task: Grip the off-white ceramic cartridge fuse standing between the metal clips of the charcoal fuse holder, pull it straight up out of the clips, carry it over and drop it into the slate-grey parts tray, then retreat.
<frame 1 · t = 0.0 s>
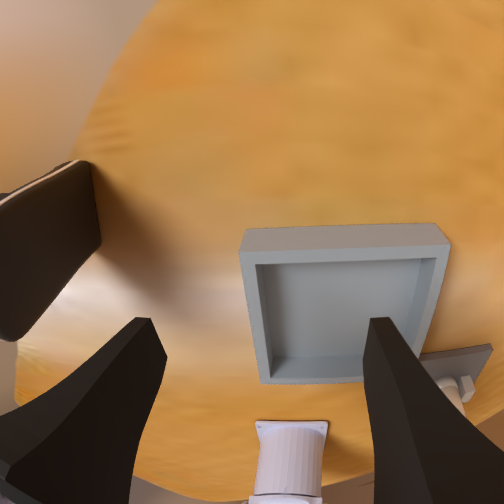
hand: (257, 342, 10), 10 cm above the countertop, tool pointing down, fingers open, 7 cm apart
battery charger: (78, 201, 20), on the countertop
parts tray: (341, 302, 21), on the countertop
fuse holder: (438, 379, 25), on the countertop
fuse: (440, 385, 24), point 1 cm above the countertop, touching fuse holder
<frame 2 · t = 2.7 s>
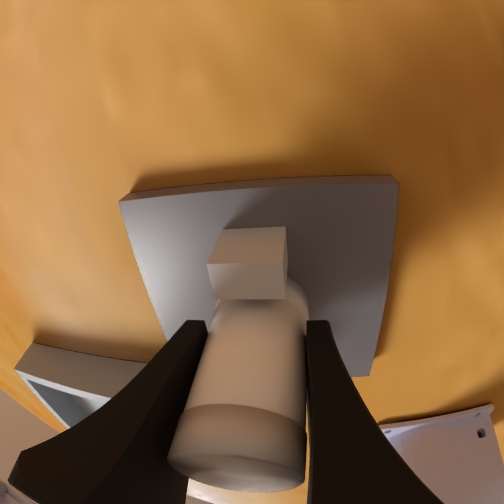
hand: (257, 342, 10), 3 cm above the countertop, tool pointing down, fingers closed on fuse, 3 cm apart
parts tray: (128, 408, 20), on the countertop
fuse holder: (265, 293, 12), on the countertop
fuse: (263, 306, 11), point 1 cm above the countertop, touching fuse holder, gripper
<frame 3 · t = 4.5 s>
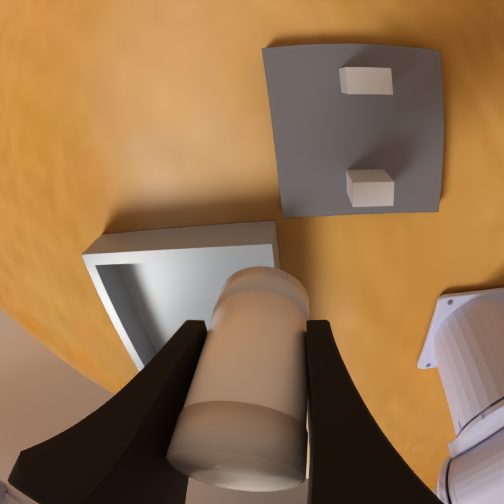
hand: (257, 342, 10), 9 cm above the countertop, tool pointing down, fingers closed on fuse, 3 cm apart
parts tray: (198, 303, 22), on the countertop
fuse holder: (360, 129, 15), on the countertop
fuse: (263, 303, 11), point 8 cm above the countertop, touching gripper
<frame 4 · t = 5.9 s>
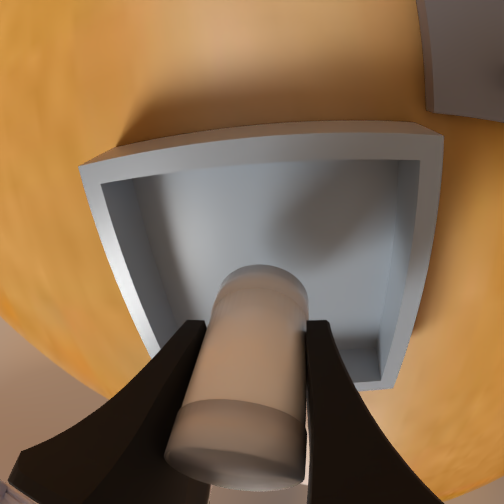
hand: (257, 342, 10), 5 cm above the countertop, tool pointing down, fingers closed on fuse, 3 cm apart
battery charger: (186, 430, 25), on the countertop
parts tray: (270, 263, 14), on the countertop
fuse: (262, 302, 11), point 3 cm above the countertop, touching gripper
when the fingers open (4 cm above the countertop, at t = 6.8 s): fuse drops 2 cm, resting on parts tray.
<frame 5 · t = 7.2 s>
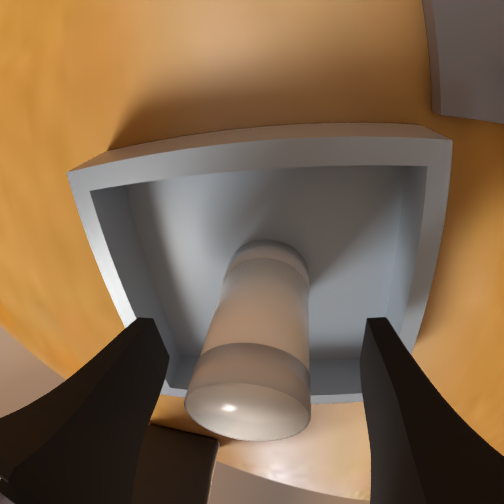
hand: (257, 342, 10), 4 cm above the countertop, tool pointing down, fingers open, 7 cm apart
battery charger: (184, 436, 24), on the countertop
parts tray: (268, 272, 13), on the countertop
fuse: (267, 275, 13), point 1 cm above the countertop, touching parts tray
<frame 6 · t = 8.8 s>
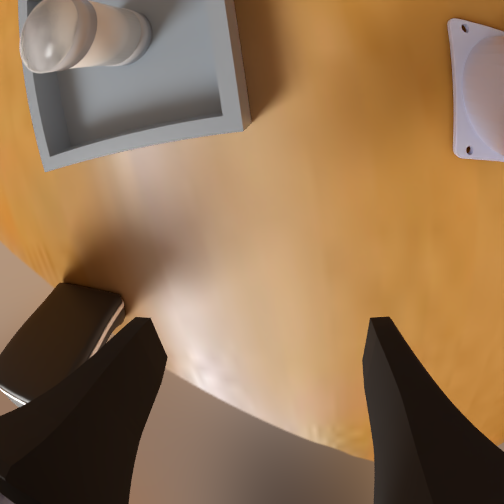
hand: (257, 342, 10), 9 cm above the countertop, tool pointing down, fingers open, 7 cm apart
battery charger: (95, 301, 24), on the countertop
parts tray: (129, 41, 13), on the countertop
fuse: (125, 38, 13), point 1 cm above the countertop, touching parts tray
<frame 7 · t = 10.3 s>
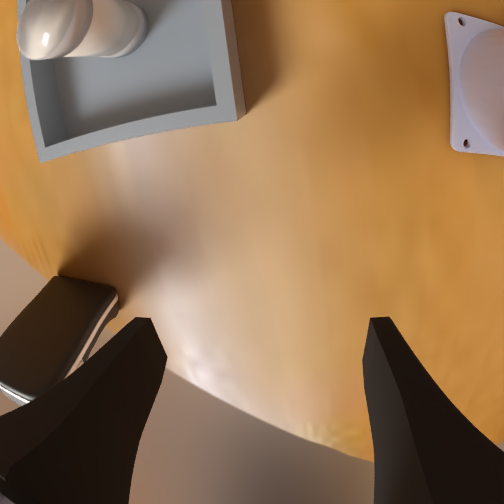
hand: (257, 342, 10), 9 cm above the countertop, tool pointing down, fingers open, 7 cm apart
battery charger: (90, 295, 24), on the countertop
parts tray: (126, 34, 13), on the countertop
fuse: (121, 30, 12), point 1 cm above the countertop, touching parts tray
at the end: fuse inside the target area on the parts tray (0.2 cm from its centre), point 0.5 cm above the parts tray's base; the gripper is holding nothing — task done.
